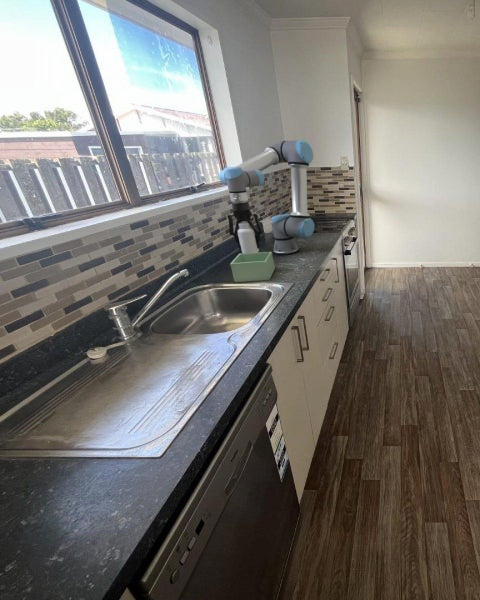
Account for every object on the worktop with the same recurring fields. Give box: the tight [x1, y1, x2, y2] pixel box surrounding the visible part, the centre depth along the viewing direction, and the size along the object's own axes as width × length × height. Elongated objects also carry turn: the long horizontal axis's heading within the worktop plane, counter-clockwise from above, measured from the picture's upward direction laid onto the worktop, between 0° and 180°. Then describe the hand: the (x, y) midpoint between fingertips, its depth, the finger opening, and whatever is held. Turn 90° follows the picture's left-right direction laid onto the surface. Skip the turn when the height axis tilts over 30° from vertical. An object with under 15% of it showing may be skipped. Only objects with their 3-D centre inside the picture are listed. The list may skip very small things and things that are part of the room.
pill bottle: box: [238, 221, 260, 254], centre depth 163 cm, size 8×8×15 cm
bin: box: [229, 251, 276, 283], centre depth 170 cm, size 17×17×10 cm
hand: (249, 248), depth 166 cm, fingers closed on pill bottle, 8 cm apart
